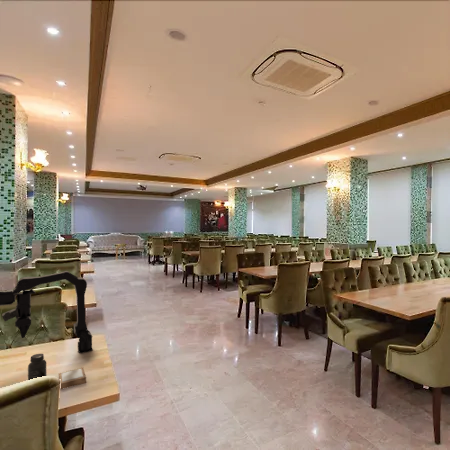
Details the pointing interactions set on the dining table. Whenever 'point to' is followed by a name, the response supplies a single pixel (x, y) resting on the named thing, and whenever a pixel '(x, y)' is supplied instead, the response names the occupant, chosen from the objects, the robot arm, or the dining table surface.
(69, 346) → the dining table surface
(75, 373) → the walnut plinth
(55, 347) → the dining table surface
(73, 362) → the dining table surface
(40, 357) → the supplement bottle
